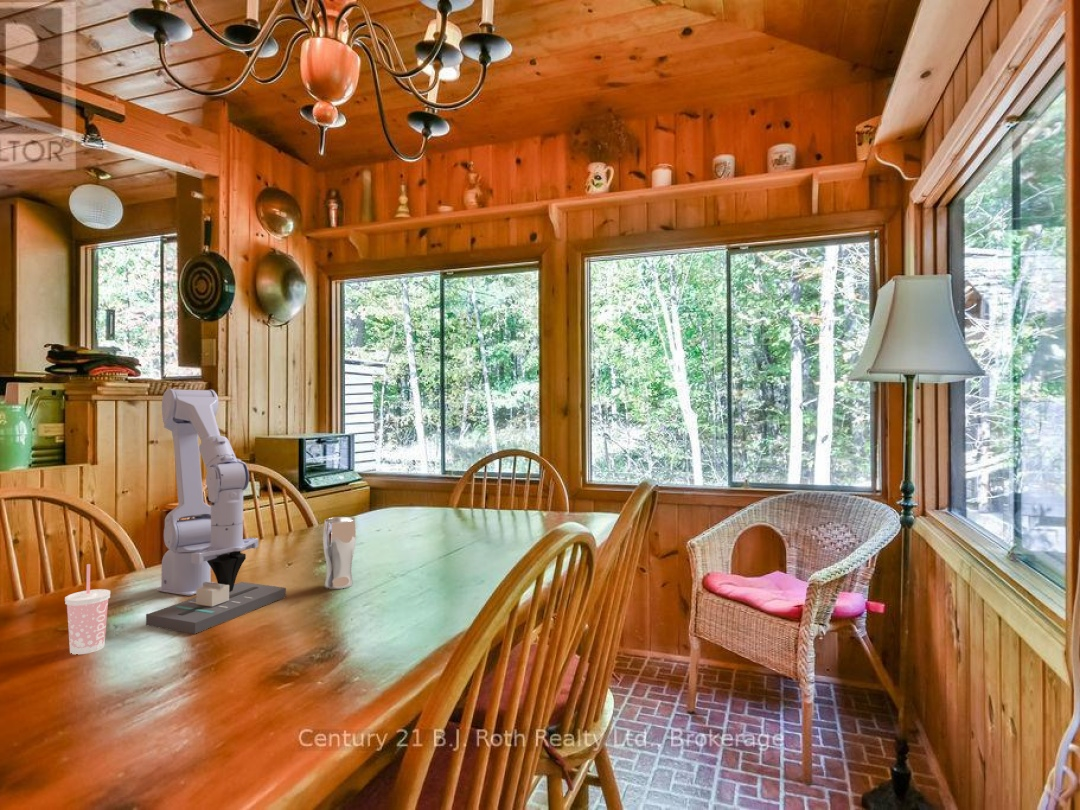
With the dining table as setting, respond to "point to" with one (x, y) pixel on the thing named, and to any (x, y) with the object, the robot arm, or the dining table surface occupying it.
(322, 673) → the dining table surface
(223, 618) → the console
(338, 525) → the beer glass
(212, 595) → the fader tab
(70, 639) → the beverage cup
